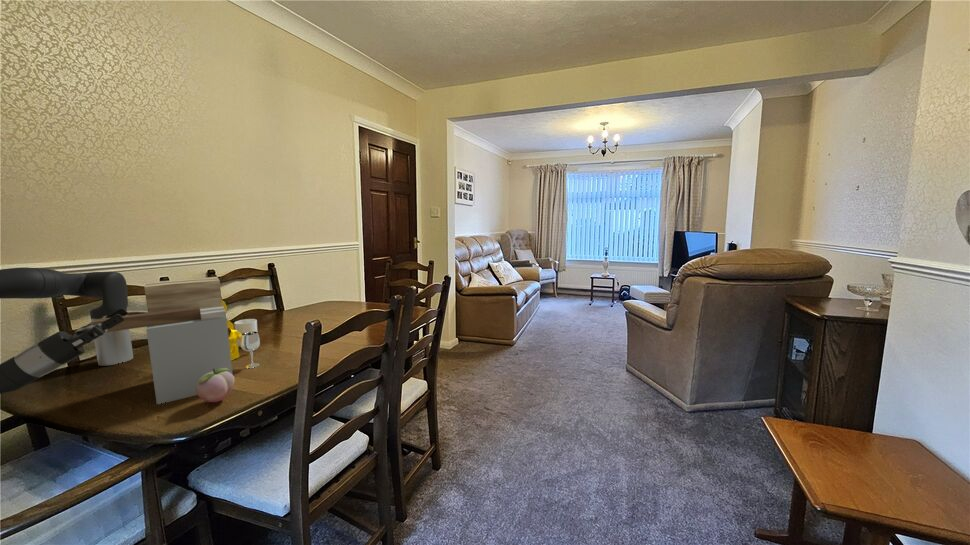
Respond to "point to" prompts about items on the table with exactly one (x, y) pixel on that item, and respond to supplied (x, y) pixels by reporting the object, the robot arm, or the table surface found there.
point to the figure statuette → (232, 337)
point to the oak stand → (183, 294)
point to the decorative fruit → (215, 385)
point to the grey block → (186, 355)
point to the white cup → (245, 327)
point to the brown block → (166, 317)
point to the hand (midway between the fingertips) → (123, 313)
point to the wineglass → (250, 345)
